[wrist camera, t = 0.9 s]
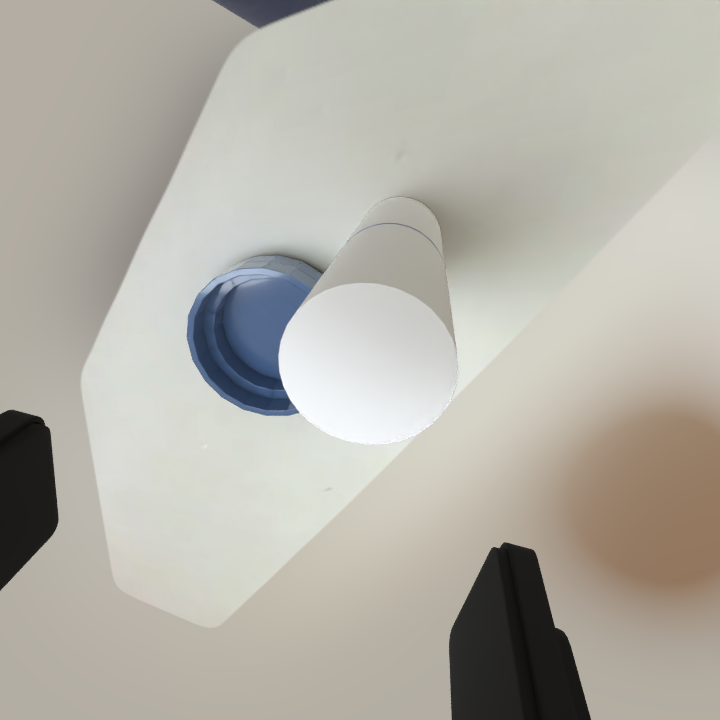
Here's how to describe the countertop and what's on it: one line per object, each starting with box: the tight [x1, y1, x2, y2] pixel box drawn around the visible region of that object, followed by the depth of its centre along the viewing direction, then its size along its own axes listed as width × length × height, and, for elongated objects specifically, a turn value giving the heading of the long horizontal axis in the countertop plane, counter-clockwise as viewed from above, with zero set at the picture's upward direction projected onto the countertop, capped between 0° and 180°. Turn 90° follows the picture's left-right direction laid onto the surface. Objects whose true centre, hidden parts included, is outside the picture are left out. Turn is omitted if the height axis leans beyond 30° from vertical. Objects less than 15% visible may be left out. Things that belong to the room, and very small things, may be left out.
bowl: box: [187, 255, 323, 416], centre depth 44 cm, size 14×14×5 cm
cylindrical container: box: [278, 197, 458, 445], centre depth 30 cm, size 7×7×25 cm
